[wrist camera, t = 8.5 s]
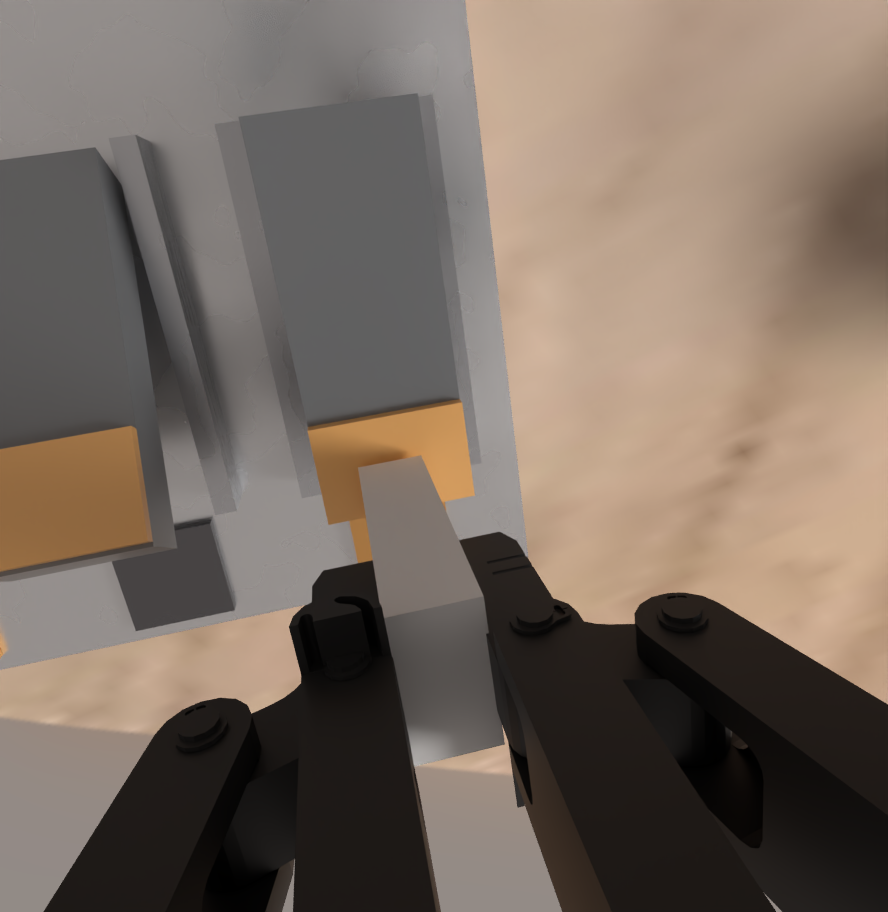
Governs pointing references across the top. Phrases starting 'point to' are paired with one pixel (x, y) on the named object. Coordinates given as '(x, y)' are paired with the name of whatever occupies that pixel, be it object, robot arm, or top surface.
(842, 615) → the top surface
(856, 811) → the robot arm
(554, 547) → the top surface
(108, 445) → the switch
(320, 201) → the switch
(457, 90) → the switch unit
